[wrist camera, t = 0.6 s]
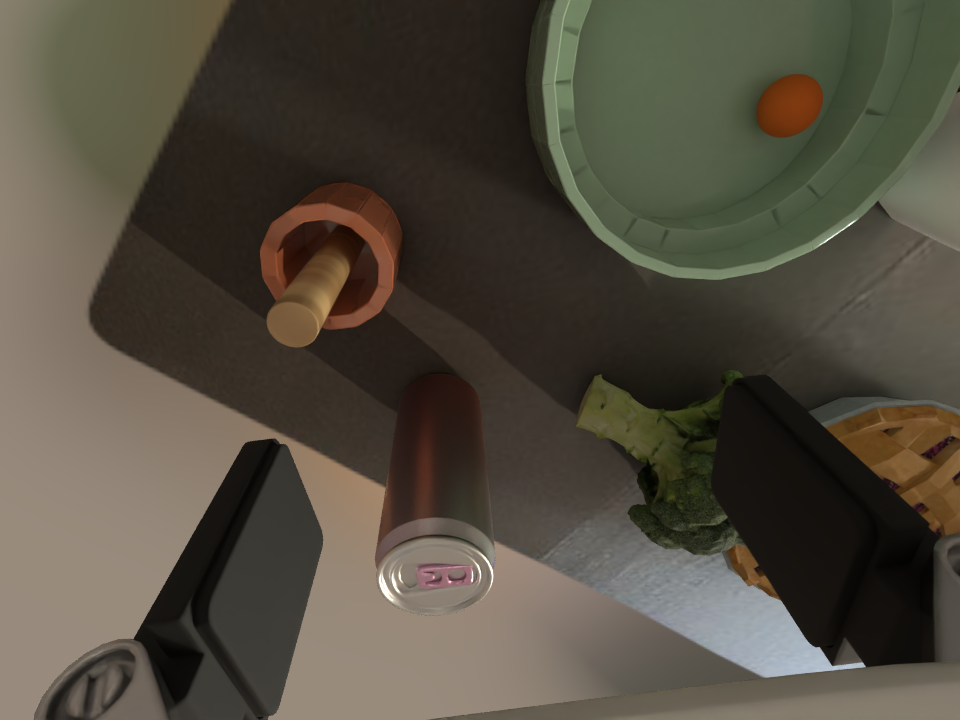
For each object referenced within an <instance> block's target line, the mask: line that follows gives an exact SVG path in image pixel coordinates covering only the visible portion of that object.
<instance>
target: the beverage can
mask: <svg viewBox="0 0 960 720" xmlns="http://www.w3.org/2000/svg"><path fill="white" fill-rule="evenodd" d="M375 563H376V568H377V574H376V579H377V585H378V588H379V590H380V592H381V594H382V595H383V597H384V598H385V599H386V600H387V601H388V602H389V603H391V604H392V605H394V606H395V607H397V608H399V609H401V610H404V611H406V612H410V613H413V614H418V615H425V616H441V615H448V614H453V613H457V612H460V611H463V610H465V609H468V608H470V607H472V606H473V605H475V604H476V603H478V602H479V601H480V600H481V599H483V597H484V596H485V595H486V594H487V593H488V591H489V589H490V587H491V585H492V581H493V567H494V564H495V548H494V537H493V527H492V516H491V506H490V496H489V486H488V476H487V466H486V455H485V445H484V435H483V425H482V415H481V405H480V400H479V397H478V395H477V393H476V391H475V390H474V389H473V387H472V386H471V385H469V384H468V383H467V382H466V381H464V380H462V379H460V378H458V377H456V376H453V375H449V374H431V375H427V376H424V377H421V378H419V379H417V380H415V381H414V382H413V383H411V384H410V385H409V386H408V387H407V388H406V389H405V391H404V392H403V394H402V396H401V398H400V402H399V408H398V414H397V421H396V427H395V433H394V440H393V446H392V452H391V459H390V465H389V472H388V478H387V484H386V491H385V497H384V504H383V510H382V517H381V524H380V529H379V535H378V542H377V548H376V554H375Z"/></svg>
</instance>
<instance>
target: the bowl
mask: <svg viewBox="0 0 960 720" xmlns="http://www.w3.org/2000/svg"><path fill="white" fill-rule="evenodd" d="M793 74H803V75H807V76H810V77H812V78H813V79H815V80H816V81H817V82H818V83H819V85H820V87H821V89H822V92H823V104H822V108H821V111H820V113H819V115H818V117H817V118H816V120H815V121H814V122H813V123H812V124H811V125H810V126H809V127H808V128H807V129H805V130H804V131H803V132H801V133H799V134H797V135H794V136H791V137H786V138H777V137H773V136H770V135H768V134H766V133H765V132H764V131H763V130H762V129H761V128H760V126H759V124H758V122H757V117H756V110H757V105H758V102H759V100H760V98H761V96H762V94H763V93H764V92H765V90H766V89H767V88H768V87H769V86H770V85H771V84H772V83H774V82H775V81H777V80H778V79H780V78H782V77H785V76H788V75H793ZM525 83H526V85H525V88H526V96H527V105H528V113H529V121H530V130H531V135H532V136H531V137H532V139H533V142H534V144H535V147H536V150H537V152H538V155H539V158H540V160H541V163H542V165H543V168H544V171H545V173H546V176H547V178H548V180H549V181H550V183H551V184H552V185H553V187H554V188H555V189H556V191H557V192H558V193H559V195H560V196H561V197H562V199H563V200H564V201H565V203H566V204H567V205H568V207H569V208H570V210H571V211H572V212H573V213H574V214H575V215H576V216H577V217H578V218H579V219H580V220H581V221H582V222H583V223H584V224H585V225H586V226H587V227H588V228H589V230H590V231H591V232H592V233H593V234H594V235H595V236H596V237H598V238H599V239H600V240H602V241H603V242H604V243H606V244H607V245H608V246H610V247H611V248H613V249H614V250H615V251H617V252H618V253H619V254H621V255H622V256H623V257H625V258H626V259H627V260H629V261H630V262H632V263H634V264H637V265H640V266H643V267H646V268H648V269H651V270H654V271H657V272H660V273H663V274H665V275H668V276H671V277H680V278H696V279H712V280H720V279H725V278H730V277H735V276H741V275H746V274H751V273H757V272H762V271H765V270H768V269H770V268H773V267H775V266H777V265H780V264H782V263H784V262H787V261H789V260H791V259H794V258H796V257H798V256H801V255H803V254H805V253H808V252H810V251H812V250H814V249H815V248H817V247H818V246H820V245H821V244H823V243H824V242H826V241H827V240H829V239H830V238H832V237H833V236H835V235H836V234H837V233H839V232H840V231H842V230H843V229H845V228H846V227H848V226H849V225H851V224H852V223H854V222H855V221H857V220H858V219H859V218H861V217H862V216H863V215H864V214H865V213H866V212H867V211H868V210H869V209H870V208H871V207H872V206H873V205H874V204H875V203H876V202H877V201H878V200H879V199H880V198H881V197H882V196H883V195H884V194H885V193H886V192H887V191H888V190H889V189H890V188H891V187H892V186H893V185H894V184H895V183H896V182H897V181H898V180H899V179H900V178H901V177H902V176H903V175H904V174H905V173H906V172H907V170H908V169H909V167H910V166H911V165H912V163H913V162H914V160H915V159H916V158H917V156H918V155H919V154H920V152H921V151H922V149H923V148H924V147H925V145H926V144H927V143H928V141H929V140H930V138H931V137H932V136H933V134H934V133H935V131H936V130H937V129H938V127H939V126H940V125H941V122H942V121H943V119H944V117H945V115H946V113H947V111H948V109H949V107H950V105H951V103H952V101H953V99H954V97H955V94H956V92H957V90H958V88H959V86H960V0H540V3H539V6H538V9H537V12H536V15H535V18H534V21H533V24H532V29H531V35H530V45H529V54H528V63H527V72H526V81H525Z"/></svg>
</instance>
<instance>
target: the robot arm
mask: <svg viewBox="0 0 960 720" xmlns="http://www.w3.org/2000/svg"><path fill="white" fill-rule="evenodd" d="M711 488H712V492H713V494H714V496H715V498H716V500H717V501H718V503H719V505H720V506H721V508H722V509H723V511H724V512H725V514H726V515H727V517H728V518H729V520H730V522H731V523H732V525H733V526H734V528H735V529H736V531H737V532H738V534H739V536H740V537H741V539H742V540H743V542H744V543H745V545H746V546H747V548H748V550H749V551H750V553H751V554H752V556H753V557H754V559H755V560H756V562H757V564H758V565H759V567H760V568H761V570H762V571H763V573H764V574H765V576H766V577H767V579H768V581H769V582H770V584H771V585H772V587H773V588H774V590H775V591H776V593H777V595H778V596H779V598H780V599H781V601H782V602H783V604H784V605H785V607H786V609H787V610H788V612H789V613H790V615H791V616H792V618H793V619H794V621H795V623H796V624H797V626H798V627H799V629H800V630H801V632H802V633H803V635H804V637H805V638H806V639H807V641H808V642H809V643H810V644H811V645H812V646H814V647H820V648H821V650H822V651H823V653H824V654H825V656H826V657H827V659H828V660H829V662H830V663H831V665H832V666H836V665H844V664H852V663H860V662H863V663H864V665H865V666H866V667H865V668H855V669H845V670H835V671H825V672H815V673H805V674H796V675H787V676H779V677H770V678H762V679H754V680H745V681H737V682H729V683H721V684H712V685H703V686H696V687H687V688H678V689H670V690H662V691H653V692H645V693H637V694H629V695H620V696H612V697H604V698H596V699H588V700H580V701H572V702H564V703H556V704H548V705H540V706H532V707H524V708H517V709H508V710H500V711H492V712H484V713H476V714H468V715H461V716H453V717H445V718H438V719H430V720H960V533H954V534H950V535H945V536H943V537H942V538H940V537H939V536H938V535H936V534H935V533H934V532H933V531H932V530H931V529H930V528H929V525H930V523H929V522H928V521H927V520H926V519H925V518H923V517H922V516H921V515H920V514H919V513H918V512H917V511H916V510H915V509H914V508H912V507H911V506H910V505H909V504H908V503H907V502H906V501H905V500H904V499H903V498H902V497H900V496H899V495H898V494H897V493H896V492H895V491H894V490H893V489H892V488H891V487H890V486H888V485H887V484H886V483H885V482H884V481H883V480H882V479H881V478H880V477H879V476H877V475H876V474H875V473H874V472H873V471H872V470H871V469H870V468H869V467H868V466H867V465H865V464H864V463H863V462H862V461H861V460H860V459H859V458H858V457H857V456H856V455H854V454H853V453H852V452H851V451H850V450H849V449H848V448H847V447H846V446H845V445H844V444H842V443H841V442H840V441H839V440H838V439H837V438H836V437H835V436H834V435H833V434H832V433H830V432H829V431H828V430H827V429H826V428H825V427H824V426H823V425H822V424H821V423H819V422H818V421H817V420H816V419H815V418H814V417H813V416H812V415H811V414H810V413H809V412H807V411H806V410H805V409H804V408H803V407H802V406H801V405H800V404H799V403H798V402H796V401H795V400H794V399H793V398H792V397H791V396H790V395H789V394H788V393H787V392H786V391H784V390H783V389H782V388H781V387H780V386H779V385H778V384H777V383H776V382H775V381H774V380H772V379H771V378H770V377H769V376H767V375H756V376H748V377H740V378H736V379H734V381H733V382H732V386H728V387H726V389H725V392H724V397H723V404H722V410H721V417H720V423H719V429H718V436H717V442H716V449H715V455H714V462H713V468H712V475H711ZM322 546H323V534H322V530H321V527H320V525H319V522H318V520H317V518H316V515H315V512H314V510H313V507H312V505H311V502H310V500H309V498H308V495H307V493H306V490H305V488H304V485H303V483H302V480H301V478H300V475H299V473H298V470H297V468H296V465H295V463H294V460H293V458H292V456H291V453H290V450H289V448H288V446H287V445H285V444H280V443H279V442H278V441H277V440H276V439H266V440H258V441H250V442H247V443H245V444H244V446H243V447H242V449H241V451H240V452H239V454H238V456H237V458H236V459H235V461H234V463H233V465H232V466H231V468H230V470H229V472H228V473H227V475H226V477H225V479H224V480H223V482H222V484H221V486H220V488H219V489H218V491H217V493H216V495H215V496H214V498H213V500H212V502H211V503H210V505H209V507H208V509H207V511H206V512H205V514H204V516H203V518H202V519H201V521H200V523H199V524H198V526H197V528H196V530H195V531H194V533H193V535H192V537H191V538H190V540H189V542H188V544H187V546H186V547H185V549H184V551H183V553H182V554H181V556H180V558H179V560H178V562H177V563H176V565H175V567H174V569H173V570H172V572H171V574H170V575H169V577H168V579H167V581H166V583H165V585H164V586H163V588H162V590H161V591H160V593H159V595H158V597H157V599H156V600H155V602H154V604H153V605H152V607H151V609H150V611H149V613H148V614H147V616H146V618H145V620H144V621H143V623H142V625H141V627H140V629H139V630H138V632H137V634H136V635H135V637H134V639H118V640H115V641H112V642H108V643H106V644H102V645H100V646H99V647H97V648H95V649H93V650H91V651H89V652H87V653H86V654H84V655H83V656H82V657H80V658H79V659H78V660H76V661H75V662H74V663H72V664H71V665H70V666H68V667H67V668H66V670H64V672H63V673H62V674H61V675H60V676H58V677H57V678H56V679H55V680H54V682H53V683H52V684H51V686H50V687H49V689H48V690H47V691H46V693H45V694H44V695H43V697H42V699H41V701H40V703H39V705H38V707H37V710H36V712H35V715H34V720H268V717H269V716H271V715H274V714H275V713H276V711H277V710H278V708H279V705H280V702H281V698H282V694H283V690H284V687H285V683H286V679H287V676H288V672H289V668H290V665H291V661H292V657H293V653H294V649H295V646H296V643H297V639H298V635H299V632H300V628H301V624H302V620H303V617H304V613H305V609H306V606H307V602H308V598H309V595H310V591H311V587H312V584H313V580H314V576H315V572H316V568H317V565H318V561H319V557H320V554H321V550H322Z"/></svg>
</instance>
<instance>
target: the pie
mask: <svg viewBox="0 0 960 720" xmlns="http://www.w3.org/2000/svg"><path fill="white" fill-rule="evenodd" d="M808 412H809V413H810V414H811V415H812V416H813V417H814V418H815V419H816V420H817V421H818V422H819V423H821V424H822V425H823V426H824V427H825V428H826V429H827V430H828V431H829V432H830V433H832V434H833V435H834V436H835V437H836V438H837V439H838V440H839V441H840V442H841V443H842V444H844V445H845V446H846V447H847V448H848V449H849V450H850V451H851V452H852V453H853V454H854V455H856V456H857V457H858V458H859V459H860V460H861V461H862V462H863V463H864V464H865V465H867V466H868V467H869V468H870V469H871V470H872V471H873V472H874V473H875V474H876V475H877V476H879V477H880V478H881V479H882V480H883V481H884V482H885V483H886V484H887V485H888V486H890V487H891V488H892V489H893V490H894V491H895V492H896V493H897V494H898V495H899V496H900V497H902V498H903V499H904V500H905V501H906V502H907V503H908V504H909V505H910V506H911V507H912V508H914V509H915V510H916V511H917V512H918V513H919V514H920V515H921V516H922V517H923V518H925V519H926V520H927V521H928V522H929V523H930V525H929V528H930V529H931V530H932V531H933V532H934V533H935V534H936V535H938V536H939V537H940V538H942V537H943V536H945V535H950V534H954V533H960V410H958V409H956V408H953V407H950V406H948V405H945V404H942V403H939V402H937V401H934V400H912V401H908V400H901V399H895V398H889V397H883V396H881V397H842V398H839V399H837V400H834V401H832V402H830V403H827V404H825V405H823V406H820V407H818V408H816V409H813V410H811V411H808ZM722 553H723V556H724V558H725V561H726V563H727V566H728V568H729V569H730V570H732V571H733V572H734V573H736V574H737V575H739V576H740V577H741V578H742V579H743V580H744V582H745V583H746V584H747V585H748V586H751V585H753V586H755V587H756V588H758V589H761V590H763V591H764V592H765V593H767V594H768V595H769V596H771V597H774V598H776V599H779V600H781V599H780V598H779V596H778V595H777V593H776V591H775V590H774V588H773V587H772V585H771V584H770V582H769V581H768V579H767V577H766V576H765V574H764V573H763V571H762V570H761V568H760V567H759V565H758V564H757V562H756V560H755V559H754V557H753V556H752V554H751V553H750V551H749V550H748V548H747V547H745V546H742V545H738V544H737V545H735V546H734V547H732V548H730V549H729V550H727V551H725V552H724V551H722Z"/></svg>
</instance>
